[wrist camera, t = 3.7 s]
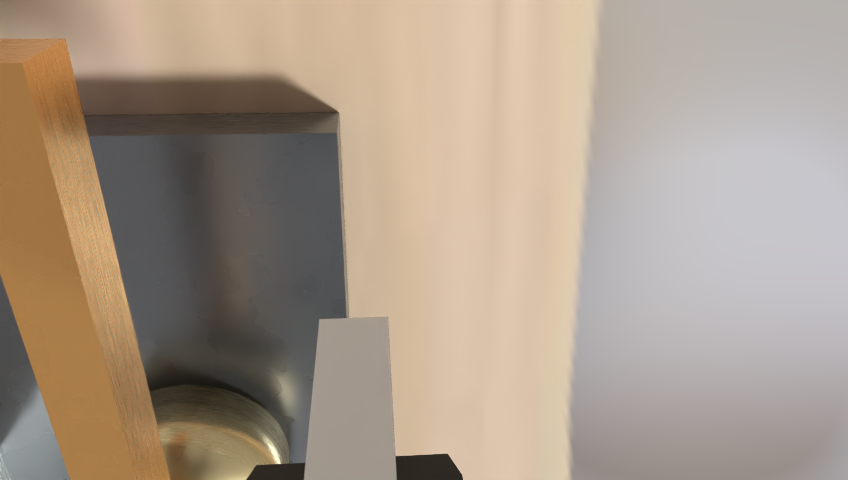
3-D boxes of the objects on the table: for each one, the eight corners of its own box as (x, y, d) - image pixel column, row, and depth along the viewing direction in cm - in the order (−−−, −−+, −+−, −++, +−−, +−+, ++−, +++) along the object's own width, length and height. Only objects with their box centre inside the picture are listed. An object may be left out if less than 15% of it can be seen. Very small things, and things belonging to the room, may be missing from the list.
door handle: (296, 509, 28) (278, 686, 22) (124, 519, 28) (57, 703, 22) (237, -2, 18) (175, 61, 12) (-30, -2, 18) (-234, 64, 12)
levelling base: (359, 516, 32) (357, 799, 22) (-82, 542, 31) (-291, 858, 21) (339, 112, 23) (321, 297, 13) (-305, 120, 21) (-887, 338, 11)
